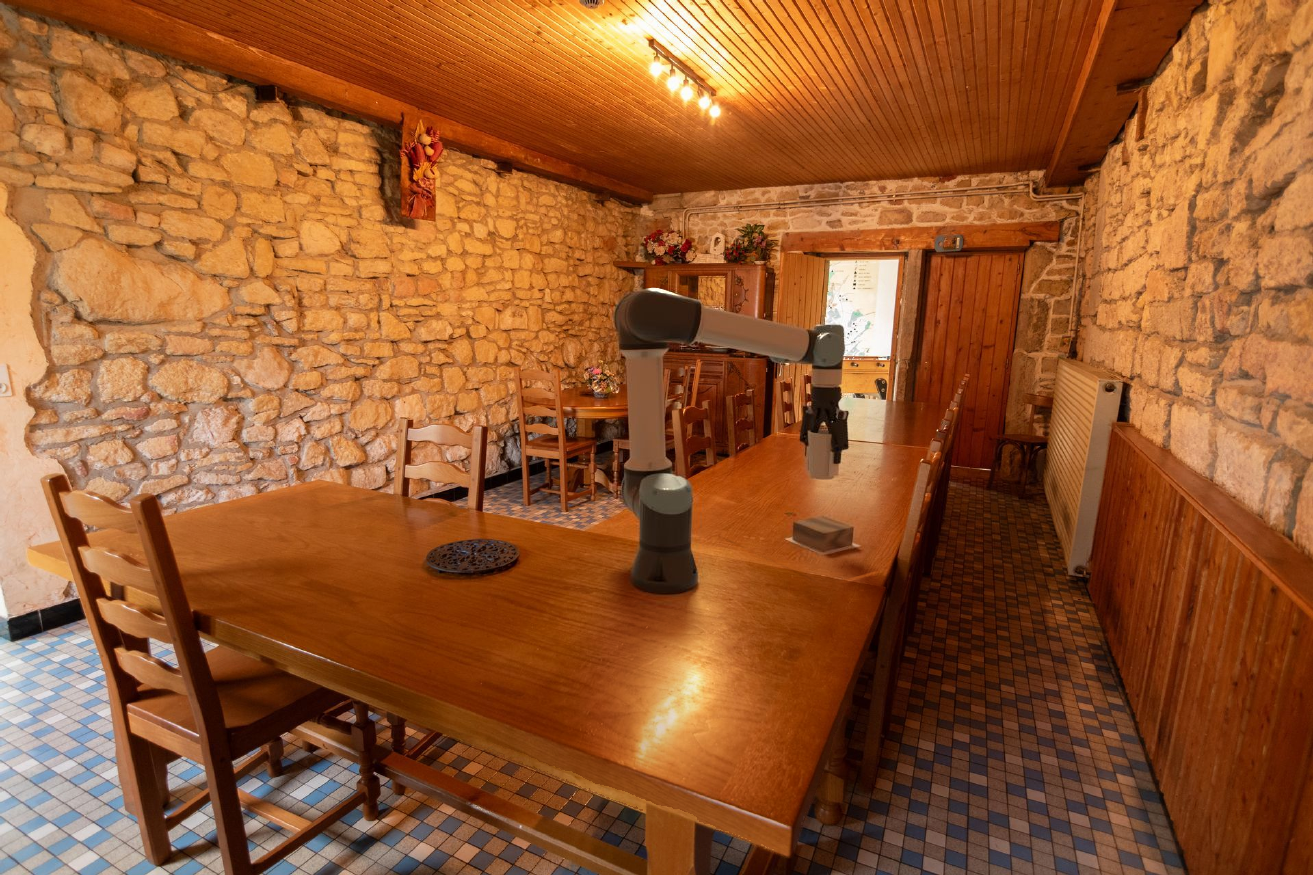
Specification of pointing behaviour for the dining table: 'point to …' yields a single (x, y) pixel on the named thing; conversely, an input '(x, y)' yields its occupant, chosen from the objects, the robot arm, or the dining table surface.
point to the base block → (822, 533)
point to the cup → (819, 454)
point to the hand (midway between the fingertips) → (821, 472)
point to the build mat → (825, 551)
